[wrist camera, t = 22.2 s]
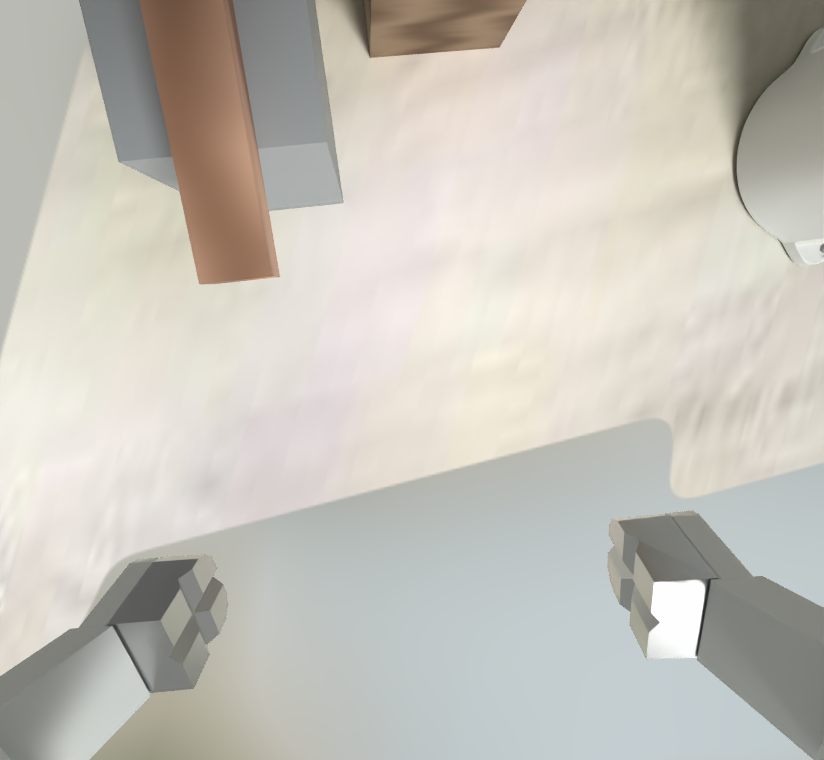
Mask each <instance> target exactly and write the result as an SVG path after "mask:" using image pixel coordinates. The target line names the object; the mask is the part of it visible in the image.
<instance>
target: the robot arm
mask: <svg viewBox="0 0 824 760" xmlns="http://www.w3.org/2000/svg"><path fill="white" fill-rule="evenodd" d="M737 180H738V186H739V190H740V194H741V197H742V200H743V202H744V204H745V206H746V208H747V210H748V212H749V214H750V215H751V216H752V218H753V219H754V220H755V221H756V222H757V224H758V225H760V226H761V227H762V228H763V229H764V230H765V231H767V232H768V233H770V234H772V235H773V236H775V237H776V238H777V239H778V240H780V241H781V242H782V244H783V246H784V247H785V249H786V251H787V253H788V255H789V256H790V258H791V260H792V261H793V262H794V263H795V264H796V265H798V266H809V265H815V264H818V263H821V262H824V27H823V28H820V29H818V30H817V31H815V32H814V33H813V34H812V35H811V37H810V38H809V39H808V41H807V42H806V44H805V46H804V47H803V49H802V51H801V52H800V54H799V56H798V58H797V60H796V61H795V62H794V64H793V65H792V66H791V67H790V68H789V69H788V70H787V71H785V72H784V73H783V74H782V75H781V76H779V77H778V78H777V79H776V80H775V81H774V82H773V83H772V84H771V85H770V86H769V87H768V88H767V89H766V90H765V91H764V92H763V94H762V95H761V96H760V98H759V99H758V100H757V102H756V103H755V105H754V107H753V108H752V110H751V112H750V114H749V116H748V118H747V120H746V123H745V125H744V128H743V131H742V134H741V138H740V141H739V146H738V153H737ZM820 246H821V249H820ZM609 536H610V538H611V540H612V542H613V544H614V547H613V548H612V549H611V550H610V551H609V552H608V571H609V576H610V581H611V584H612V587H613V590H614V593H615V595H616V597H617V599H618V602H619V603H620V605H622V606H623V607H625V608H626V609H627V610H629V611H630V612H631V614H630V627H631V629H632V631H633V633H634V635H635V637H636V639H637V641H638V643H639V645H640V647H641V649H642V651H643V653H644V655H645V658H646V659H668V658H696V657H697V660H698V661H699V662H700V663H701V664H702V665H704V666H705V667H706V668H707V669H708V670H709V671H710V672H712V673H713V674H714V675H715V676H716V677H717V678H719V679H720V680H721V681H722V682H723V683H725V684H726V685H727V686H728V687H729V688H730V689H732V690H733V691H734V692H735V693H736V694H737V695H739V696H740V697H741V698H742V699H743V700H744V701H746V702H747V703H748V704H749V705H750V706H751V707H753V708H754V709H755V710H756V711H757V712H758V713H760V714H761V715H762V716H763V717H765V719H767V720H768V721H769V722H770V723H771V724H773V725H774V726H775V727H776V728H777V729H779V730H780V731H781V732H782V733H783V734H784V735H785V736H787V737H788V738H789V739H790V740H791V741H793V742H794V743H795V744H796V745H797V746H798V747H799V748H801V749H802V750H803V751H804V752H805V753H807V754H808V755H809V756H810V757H811V758H813V759H814V760H824V608H823V607H821V606H819V605H817V604H815V603H813V602H811V601H809V600H808V599H806V598H804V597H802V596H800V595H798V594H796V593H794V592H792V591H790V590H788V589H786V588H784V587H782V586H780V585H779V584H777V583H775V582H773V581H771V580H769V579H767V578H765V577H763V576H756V577H753V576H752V575H751V573H749V571H748V570H747V569H746V568H745V567H744V566H743V564H742V563H741V562H740V561H739V560H738V559H737V557H735V555H734V554H733V553H732V552H731V551H730V549H729V548H728V547H727V546H726V545H725V544H724V543H723V541H722V540H721V539H720V538H719V537H718V536H717V535H716V533H715V532H714V531H713V530H712V529H711V528H710V527H709V525H708V524H707V523H706V522H705V521H704V520H703V519H702V518H701V516H700V515H699V514H698V513H696V512H694V511H686V512H675V513H666V514H660V515H649V516H639V517H628V518H617V519H612V520H611V523H610V525H609ZM216 569H217V567H216V565H215V563H214V561H213V558H212V557H211V556H208V555H205V554H204V555H187V556H171V557H160V558H148V559H137V560H135V561H134V562H132V563H130V564H129V565H128V566H127V568H126V569H125V570H124V571H123V573H122V574H121V575H120V576H119V578H118V579H117V580H116V581H115V583H114V584H113V585H112V586H111V588H110V589H109V590H108V591H107V593H106V594H105V595H104V596H103V598H102V599H101V600H100V602H99V603H98V604H97V605H96V606H95V608H94V609H93V610H92V612H91V613H90V614H89V615H88V617H87V618H86V619H85V620H84V622H83V623H82V624H81V625H80V627H79V628H75V629H70V630H68V631H67V632H65V633H64V634H62V635H61V636H59V637H58V638H56V639H55V640H53V641H52V642H50V643H49V644H47V645H46V646H44V647H43V648H42V649H40V650H39V651H37V652H36V653H34V654H33V655H31V656H30V657H28V658H27V659H25V660H24V661H22V662H21V663H19V664H18V665H16V666H15V667H13V668H12V669H10V670H9V671H8V672H6V673H5V674H3V675H2V676H0V760H89V759H90V758H91V757H92V756H93V755H94V754H95V753H96V752H97V751H98V750H99V749H100V748H101V747H102V746H103V745H104V744H105V743H106V741H108V739H109V738H110V737H111V736H112V735H113V734H114V733H115V732H116V731H117V730H118V729H119V728H120V727H121V726H122V725H123V724H124V723H125V722H126V721H127V720H128V719H129V718H130V717H131V716H132V715H133V713H134V712H135V711H136V710H137V709H138V708H139V707H140V706H141V705H142V704H143V703H144V702H145V701H146V700H147V699H148V698H149V697H150V695H151V694H150V693H154V692H165V691H175V690H185V689H193V688H194V687H195V685H196V683H197V681H198V679H199V677H200V674H201V672H202V670H203V668H204V665H205V664H206V661H207V659H208V657H209V655H210V654H209V650H208V646H207V644H208V643H209V642H210V641H212V640H213V639H214V638H215V637H216V636H217V635H218V634H219V633H220V631H221V628H222V626H223V624H224V622H225V619H226V612H227V607H228V601H227V593H226V590H225V588H224V585H223V584H222V583H221V582H220V581H218V580H217V579H215V578H214V577H213V576H214V573H215V571H216Z"/></svg>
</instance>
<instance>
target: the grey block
mask: <svg viewBox="0 0 824 760" xmlns="http://www.w3.org/2000/svg"><path fill="white" fill-rule="evenodd" d="M79 2H80V6H81V10H82V14H83V18H84V22H85V26H86V30H87V34H88V39H89V43H90V47H91V51H92V55H93V59H94V63H95V67H96V71H97V75H98V79H99V84H100V88H101V92H102V96H103V100H104V104H105V108H106V112H107V116H108V120H109V124H110V129H111V133H112V137H113V141H114V145H115V149H116V153H117V157H118V161H119V162H120V163H122V164H124V165H126V166H129V167H131V168H133V169H135V170H137V171H139V172H141V173H143V174H145V175H147V176H149V177H151V178H153V179H155V180H157V181H159V182H161V183H164V184H166V185H168V186H170V187H172V188H174V189H176V190H178V191H179V186H178V181H177V176H176V172H175V167H174V162H173V157H172V153H171V148H170V143H169V139H168V134H167V129H166V124H165V120H164V115H163V110H162V105H161V101H160V96H159V91H158V87H157V82H156V77H155V72H154V68H153V63H152V58H151V53H150V49H149V44H148V39H147V34H146V30H145V25H144V20H143V16H142V11H141V6H140V1H139V0H79ZM233 5H234V11H235V17H236V23H237V29H238V35H239V41H240V46H241V52H242V58H243V64H244V70H245V76H246V82H247V87H248V93H249V99H250V105H251V111H252V117H253V123H254V128H255V134H256V140H257V146H258V152H259V158H260V164H261V170H262V175H263V181H264V187H265V193H266V199H267V205H268V211H271V210H281V209H290V208H300V207H310V206H319V205H329V204H338V203H343V197H342V190H341V183H340V176H339V169H338V162H337V154H336V147H335V140H334V133H333V126H332V119H331V112H330V105H329V98H328V91H327V83H326V76H325V69H324V62H323V55H322V48H321V41H320V34H319V27H318V19H317V12H316V5H315V0H233Z"/></svg>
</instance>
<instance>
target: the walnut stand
mask: <svg viewBox="0 0 824 760" xmlns="http://www.w3.org/2000/svg"><path fill="white" fill-rule="evenodd" d="M525 2H526V0H363V3H364V11H365V20H366V28H367V36H368V45H369V53H370V58H371V57H384V56H397V55H409V54H422V53H434V52H447V51H459V50H472V49H484V48H497V47H500V45H501V44H502V42H503V40H504V38H505V37H506V35H507V33H508V32H509V30H510V28H511V26H512V25H513V23H514V21H515V19H516V18H517V16H518V14H519V12H520V11H521V9H522V7H523V6H524V4H525Z"/></svg>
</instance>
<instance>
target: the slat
mask: <svg viewBox="0 0 824 760" xmlns="http://www.w3.org/2000/svg"><path fill="white" fill-rule="evenodd" d="M139 1H140V6H141V11H142V16H143V20H144V25H145V30H146V34H147V39H148V44H149V49H150V53H151V58H152V63H153V68H154V72H155V77H156V82H157V87H158V91H159V96H160V101H161V105H162V110H163V115H164V120H165V124H166V129H167V134H168V139H169V143H170V148H171V153H172V157H173V162H174V167H175V172H176V176H177V181H178V186H179V191H180V195H181V200H182V205H183V209H184V214H185V219H186V224H187V228H188V233H189V238H190V243H191V247H192V252H193V257H194V262H195V266H196V271H197V276H198V280H199V284H219V283H228V282H237V281H247V280H256V279H265V278H274V277H280V275H279V269H278V263H277V257H276V252H275V246H274V240H273V234H272V228H271V222H270V216H269V211H268V205H267V199H266V193H265V187H264V181H263V175H262V170H261V164H260V158H259V152H258V146H257V140H256V134H255V128H254V123H253V117H252V111H251V105H250V99H249V93H248V87H247V82H246V76H245V70H244V64H243V58H242V52H241V46H240V41H239V35H238V29H237V23H236V17H235V11H234V5H233V0H139Z"/></svg>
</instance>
